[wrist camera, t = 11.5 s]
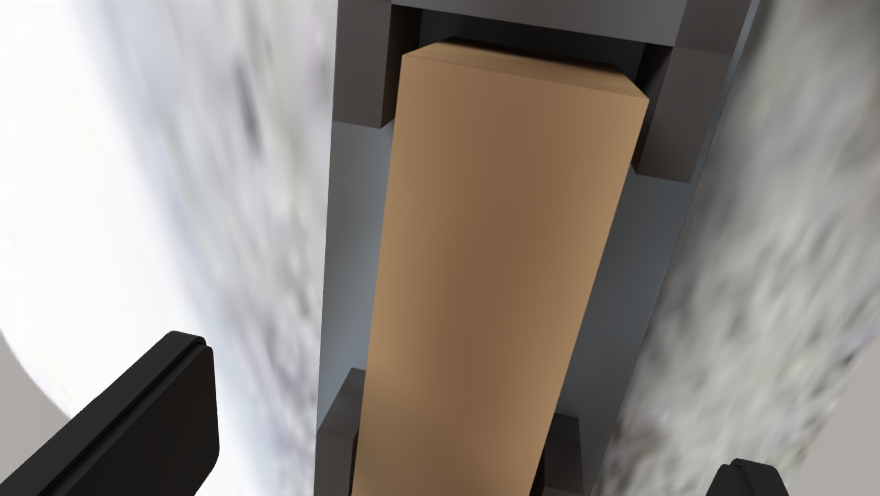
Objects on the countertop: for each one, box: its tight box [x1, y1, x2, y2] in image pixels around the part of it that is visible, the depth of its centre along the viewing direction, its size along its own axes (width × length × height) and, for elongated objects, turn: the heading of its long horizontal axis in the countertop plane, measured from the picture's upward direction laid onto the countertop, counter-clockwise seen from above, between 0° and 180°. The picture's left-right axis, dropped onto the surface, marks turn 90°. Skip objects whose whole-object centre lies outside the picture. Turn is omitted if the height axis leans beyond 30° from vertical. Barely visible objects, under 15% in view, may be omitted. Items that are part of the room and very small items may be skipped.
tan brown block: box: [352, 36, 649, 496], centre depth 16 cm, size 4×14×6 cm, turn 171°
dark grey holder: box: [314, 0, 760, 496], centre depth 17 cm, size 11×20×5 cm, turn 172°
